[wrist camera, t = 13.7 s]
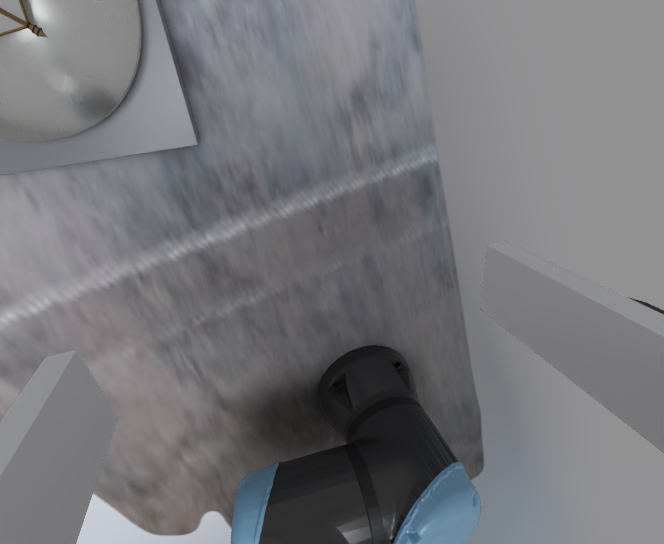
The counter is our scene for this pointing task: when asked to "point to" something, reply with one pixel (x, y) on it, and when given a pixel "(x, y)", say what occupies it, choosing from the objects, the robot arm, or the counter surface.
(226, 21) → the counter surface
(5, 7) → the game die
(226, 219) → the counter surface
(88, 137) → the scale
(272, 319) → the counter surface
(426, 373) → the counter surface
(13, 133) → the pan
